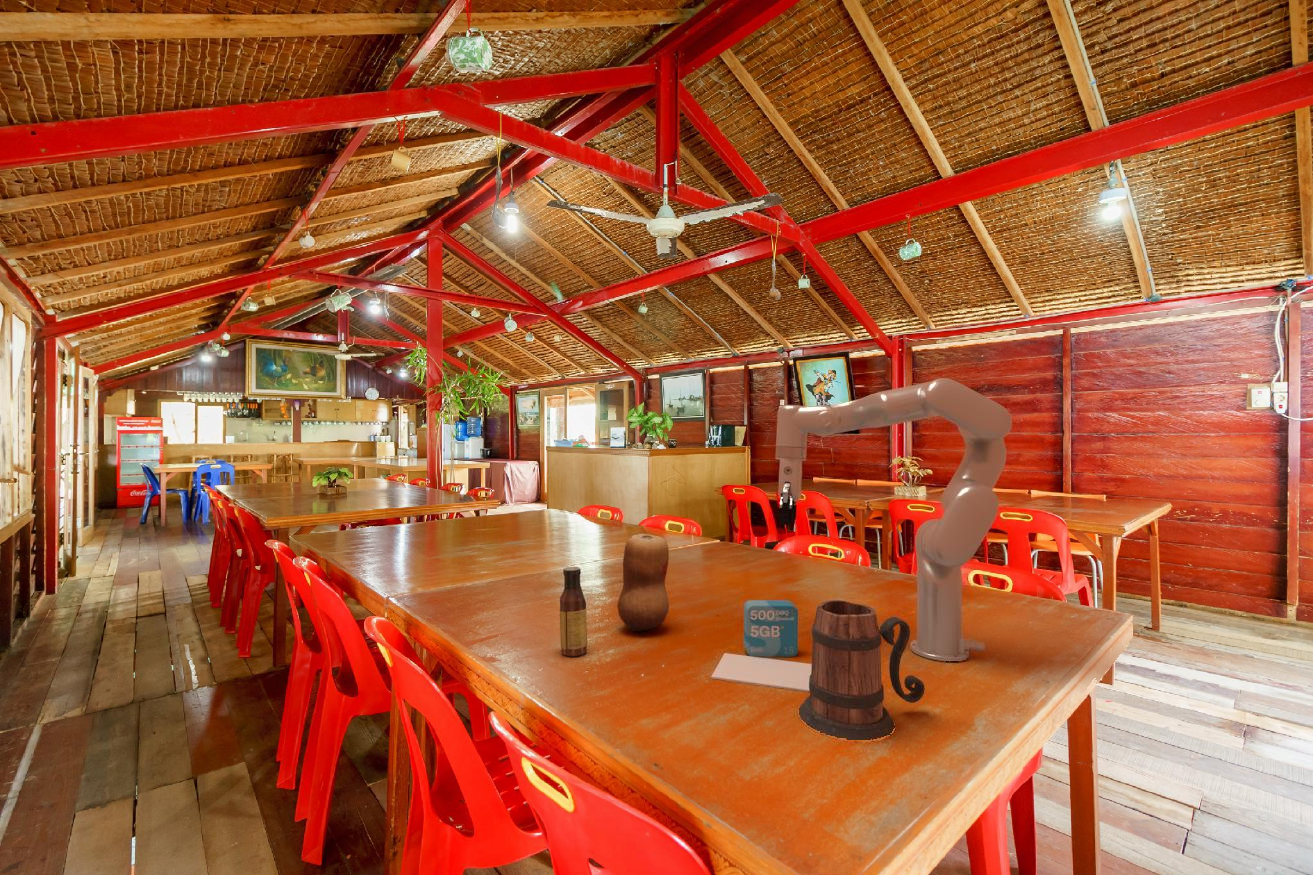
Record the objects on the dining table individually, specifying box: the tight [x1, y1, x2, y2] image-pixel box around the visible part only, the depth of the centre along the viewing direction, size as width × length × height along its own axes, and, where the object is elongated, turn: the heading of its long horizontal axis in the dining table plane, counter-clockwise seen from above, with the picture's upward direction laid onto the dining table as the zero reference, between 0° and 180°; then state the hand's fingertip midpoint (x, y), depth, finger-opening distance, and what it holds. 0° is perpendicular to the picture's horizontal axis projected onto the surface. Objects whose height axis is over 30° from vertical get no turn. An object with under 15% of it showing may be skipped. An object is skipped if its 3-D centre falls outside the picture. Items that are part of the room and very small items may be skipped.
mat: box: [711, 652, 812, 693], centre depth 123 cm, size 20×14×1 cm
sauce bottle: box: [559, 566, 588, 657], centre depth 134 cm, size 6×6×20 cm
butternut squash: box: [616, 533, 670, 632], centre depth 151 cm, size 14×13×25 cm
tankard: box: [798, 599, 925, 740], centre depth 104 cm, size 24×17×20 cm
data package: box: [743, 599, 799, 658], centre depth 134 cm, size 12×4×12 cm, turn 90°
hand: (787, 522), depth 143 cm, fingers open, 9 cm apart
